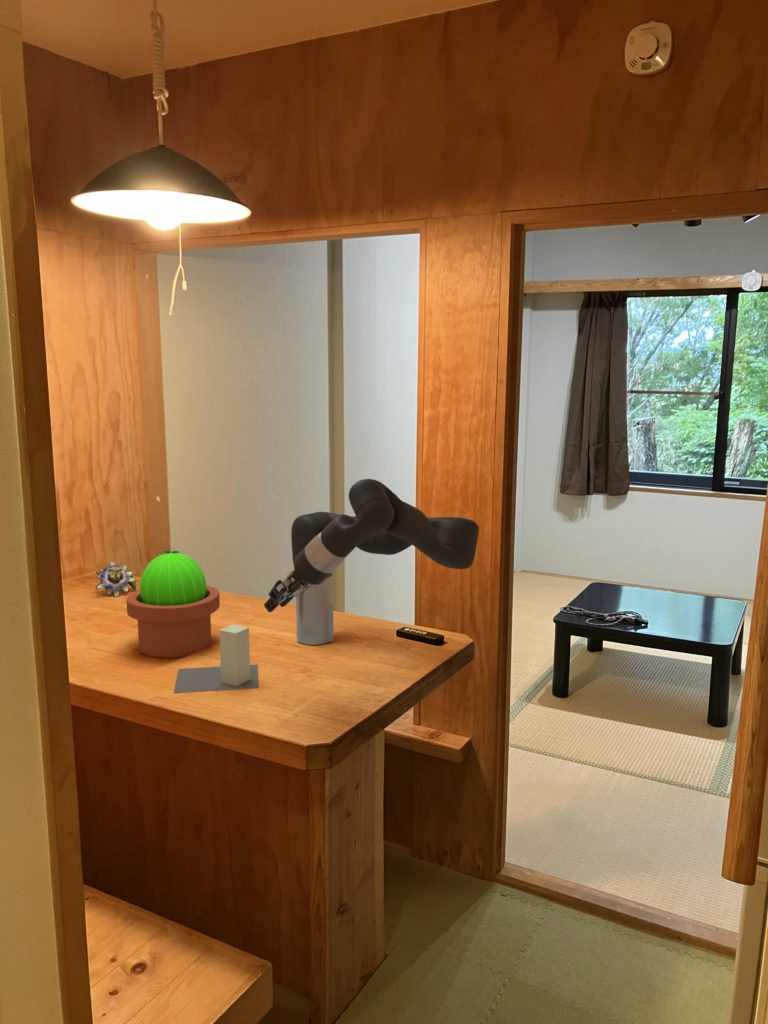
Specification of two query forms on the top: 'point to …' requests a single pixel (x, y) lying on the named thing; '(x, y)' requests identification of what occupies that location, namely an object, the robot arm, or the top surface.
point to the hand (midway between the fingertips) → (274, 605)
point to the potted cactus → (173, 607)
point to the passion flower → (115, 579)
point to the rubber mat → (210, 680)
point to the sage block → (234, 654)
